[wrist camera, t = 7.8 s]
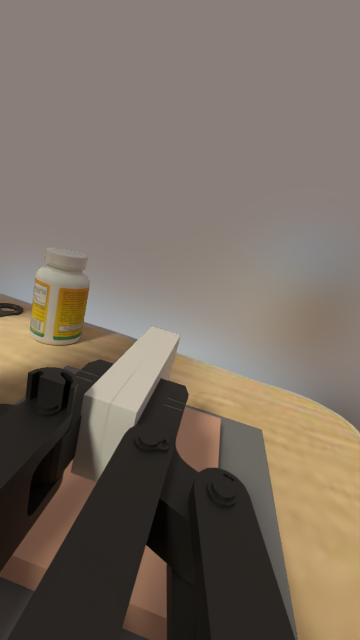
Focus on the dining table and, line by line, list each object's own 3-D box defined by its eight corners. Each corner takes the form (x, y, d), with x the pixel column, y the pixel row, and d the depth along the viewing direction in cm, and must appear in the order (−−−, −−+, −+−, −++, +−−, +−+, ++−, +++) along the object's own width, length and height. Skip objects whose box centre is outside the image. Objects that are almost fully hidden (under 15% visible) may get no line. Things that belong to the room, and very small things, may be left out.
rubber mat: (382, 1235, 5) (400, 1238, 4) (-432, 754, 6) (-442, 741, 6) (259, 435, 24) (261, 429, 23) (66, 371, 25) (67, 365, 25)
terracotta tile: (208, 635, 9) (220, 418, 20) (-56, 527, 10) (96, 377, 21) (195, 664, 10) (214, 436, 21) (-56, 558, 11) (92, 395, 22)
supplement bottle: (20, 340, 28) (27, 247, 26) (41, 323, 34) (49, 243, 31) (73, 350, 29) (86, 261, 26) (86, 332, 34) (98, 255, 31)
